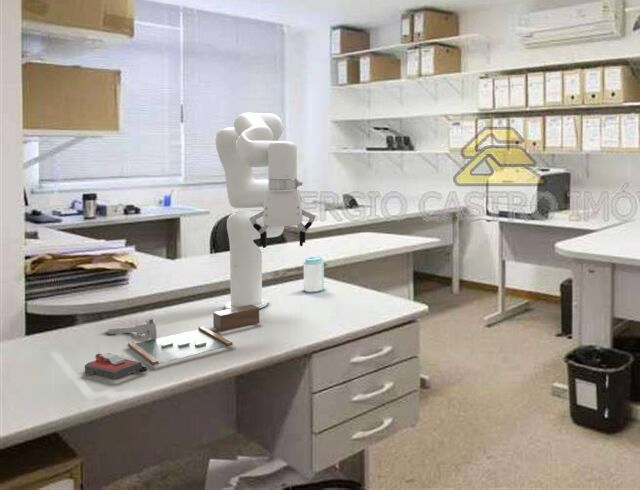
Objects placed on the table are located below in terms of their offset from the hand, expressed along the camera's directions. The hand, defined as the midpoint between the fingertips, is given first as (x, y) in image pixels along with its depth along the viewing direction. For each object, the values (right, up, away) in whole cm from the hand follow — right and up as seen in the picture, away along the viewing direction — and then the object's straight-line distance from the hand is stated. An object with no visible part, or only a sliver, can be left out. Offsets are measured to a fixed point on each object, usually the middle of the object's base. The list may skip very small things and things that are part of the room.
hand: (283, 246), depth 160 cm
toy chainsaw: (-30, -26, -27) cm, 48 cm away
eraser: (-15, -25, +5) cm, 29 cm away
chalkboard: (-22, -25, -12) cm, 36 cm away
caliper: (-41, -25, -3) cm, 48 cm away
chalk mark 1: (-25, -24, -12) cm, 37 cm away
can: (-7, -24, +49) cm, 55 cm away
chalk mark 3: (-17, -24, -12) cm, 32 cm away
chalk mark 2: (-21, -24, -12) cm, 34 cm away
